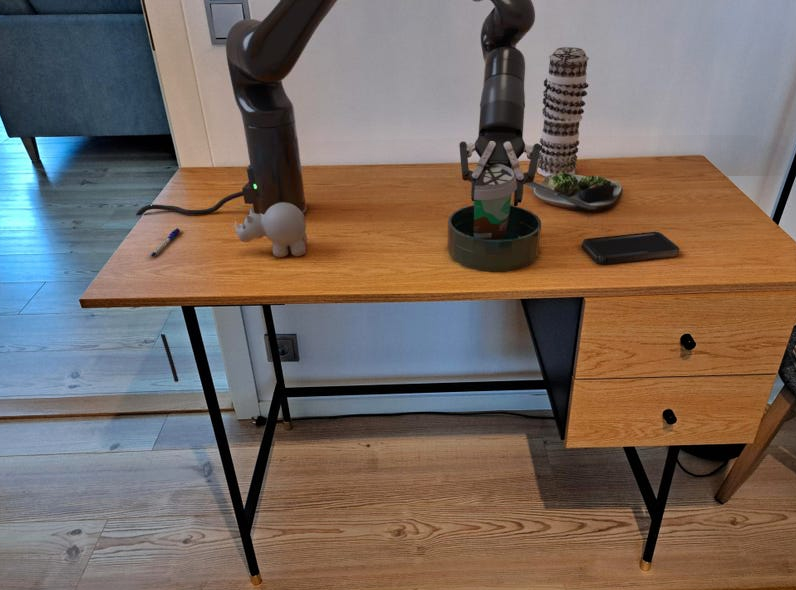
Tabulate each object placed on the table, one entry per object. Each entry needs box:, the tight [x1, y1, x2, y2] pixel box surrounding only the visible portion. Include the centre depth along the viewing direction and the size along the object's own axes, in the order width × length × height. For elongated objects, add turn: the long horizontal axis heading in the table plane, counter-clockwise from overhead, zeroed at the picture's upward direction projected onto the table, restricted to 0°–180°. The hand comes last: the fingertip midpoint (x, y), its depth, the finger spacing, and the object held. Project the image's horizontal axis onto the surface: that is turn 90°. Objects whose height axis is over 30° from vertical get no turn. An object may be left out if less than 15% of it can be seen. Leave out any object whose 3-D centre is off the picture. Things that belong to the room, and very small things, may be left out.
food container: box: [473, 163, 517, 240], centre depth 106 cm, size 12×6×10 cm, turn 169°
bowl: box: [447, 204, 542, 273], centre depth 109 cm, size 16×16×6 cm
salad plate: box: [524, 172, 624, 213], centre depth 130 cm, size 19×18×5 cm
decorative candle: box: [536, 46, 590, 178], centre depth 136 cm, size 9×9×25 cm
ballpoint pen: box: [150, 227, 181, 258], centre depth 113 cm, size 10×1×1 cm, turn 175°
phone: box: [581, 231, 680, 265], centre depth 110 cm, size 8×1×15 cm
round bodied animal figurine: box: [233, 203, 308, 258], centre depth 109 cm, size 7×12×8 cm, turn 93°
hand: (496, 203), depth 107 cm, fingers closed on food container, 6 cm apart
